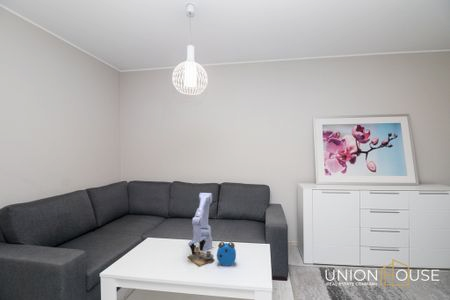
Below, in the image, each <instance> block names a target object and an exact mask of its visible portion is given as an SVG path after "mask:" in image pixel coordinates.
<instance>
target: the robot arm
mask: <svg viewBox="0 0 450 300" xmlns="http://www.w3.org/2000/svg"><path fill="white" fill-rule="evenodd" d="M198 199H199V206H198V208H196V211H195V214H194V217H192V221H191V224H192V228H193V234H192V235H193V236H192V237H193V238H192V240H191V241H189V242H188V247H189V249H190V251H191V255H192V254H193V255H194V254H195V248H196V247H197V246H196V244H197V243H198V244H199V246H198V247H199V251H200V252H204V251H206V250H207V251H208V250H210V249H213V237H212V236H211V235H212V227H211V225H209V217H210V216H209V213H210V204H212V203H213V193H212V192H200V193H199V194H198Z"/></svg>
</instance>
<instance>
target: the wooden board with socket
mask: <svg viewBox="0 0 450 300" xmlns="http://www.w3.org/2000/svg"><path fill="white" fill-rule="evenodd" d="M205 252H206V253H205ZM205 252H204V251H201V250H199V254H198V255H196V254H194V255H193V254H192V253H191V255H188V256H187V259H188V260H189V261H191V262H192V263H193V264H194V265H196V266H197V267H198V268H199V267H202V266H205V265H208V264H210V263H213V262H215V258H214V254H212V253H211V251H210V250H207V251H205Z"/></svg>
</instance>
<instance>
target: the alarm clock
mask: <svg viewBox="0 0 450 300" xmlns="http://www.w3.org/2000/svg"><path fill="white" fill-rule="evenodd" d="M217 246H218V248H217V253H216V259H217V261H218V262H219V264H220V265H222V266H225V267H227V266H231V265H233V264H234V263H235V261H236V258H237V252H236V248H235V247H236V245H235V244H234V242H232V241H231V242H228V243H227V242H224V241H221V242H219V243H218V245H217Z"/></svg>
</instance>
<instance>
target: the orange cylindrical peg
mask: <svg viewBox="0 0 450 300" xmlns="http://www.w3.org/2000/svg"><path fill="white" fill-rule="evenodd" d="M199 251H200V248H199V246H196V247H195V254H196V255H198V254H199Z"/></svg>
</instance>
